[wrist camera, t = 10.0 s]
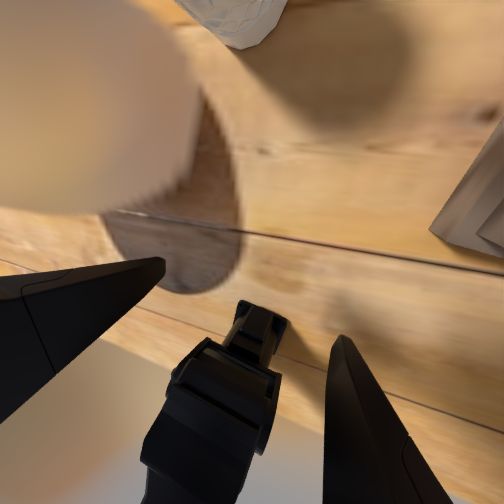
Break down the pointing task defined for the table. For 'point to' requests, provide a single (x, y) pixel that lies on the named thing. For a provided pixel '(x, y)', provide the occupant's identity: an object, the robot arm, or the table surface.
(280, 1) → the white cup
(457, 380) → the table surface
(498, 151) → the grey stacked slabs
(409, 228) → the table surface
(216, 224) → the table surface
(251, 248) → the table surface
